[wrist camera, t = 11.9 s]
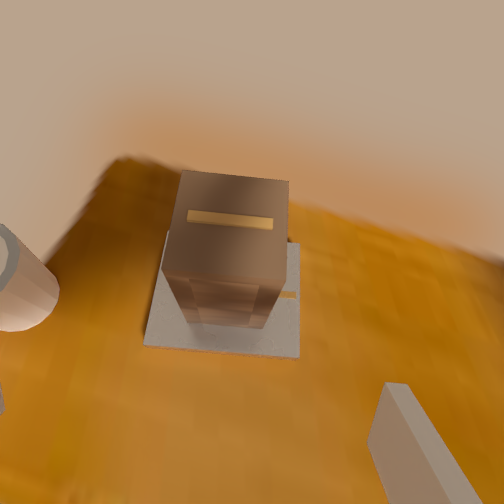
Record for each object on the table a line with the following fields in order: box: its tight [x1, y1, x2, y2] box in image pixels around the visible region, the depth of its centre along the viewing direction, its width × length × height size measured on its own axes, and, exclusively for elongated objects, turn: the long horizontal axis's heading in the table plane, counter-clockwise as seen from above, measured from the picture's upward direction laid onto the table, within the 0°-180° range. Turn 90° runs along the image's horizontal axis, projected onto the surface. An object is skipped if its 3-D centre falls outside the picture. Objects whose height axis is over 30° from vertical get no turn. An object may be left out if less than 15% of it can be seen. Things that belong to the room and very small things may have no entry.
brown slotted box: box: [161, 170, 289, 329], centre depth 21 cm, size 6×6×11 cm
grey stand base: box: [143, 231, 300, 360], centre depth 25 cm, size 12×10×6 cm
